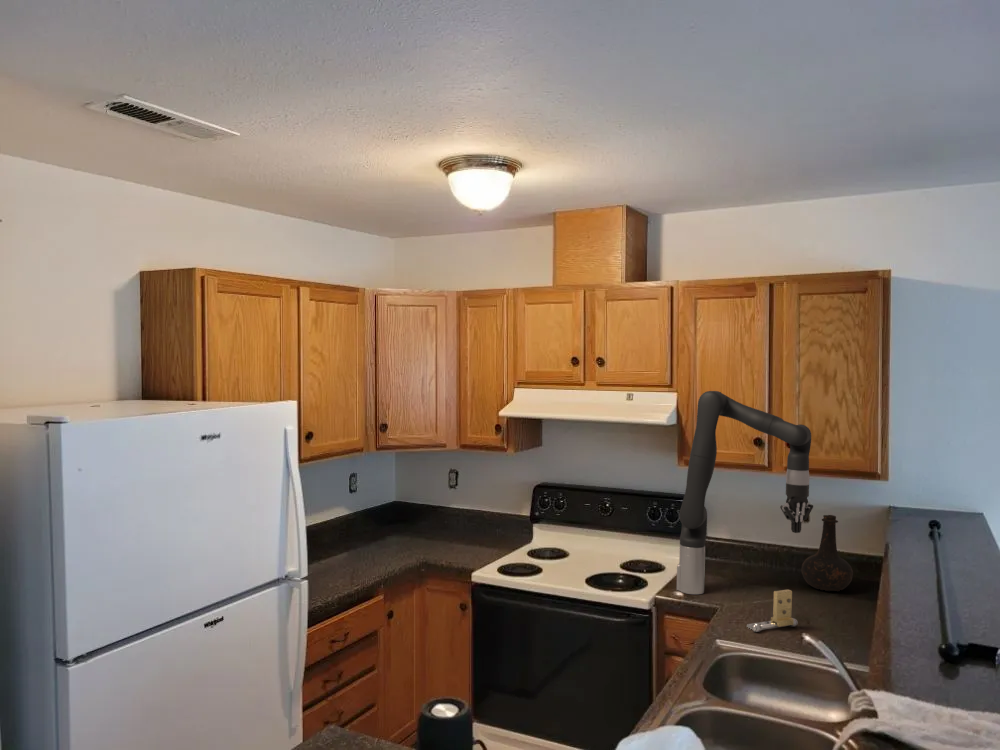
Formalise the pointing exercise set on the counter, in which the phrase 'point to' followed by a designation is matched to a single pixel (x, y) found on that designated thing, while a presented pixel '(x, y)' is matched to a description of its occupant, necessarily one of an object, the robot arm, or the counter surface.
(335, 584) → the counter surface
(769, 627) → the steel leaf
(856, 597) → the counter surface
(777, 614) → the yellow bracket with holes
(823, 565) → the glass bottle
